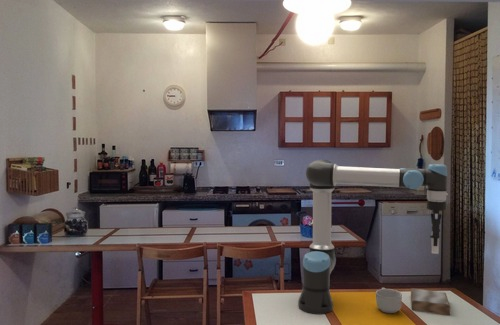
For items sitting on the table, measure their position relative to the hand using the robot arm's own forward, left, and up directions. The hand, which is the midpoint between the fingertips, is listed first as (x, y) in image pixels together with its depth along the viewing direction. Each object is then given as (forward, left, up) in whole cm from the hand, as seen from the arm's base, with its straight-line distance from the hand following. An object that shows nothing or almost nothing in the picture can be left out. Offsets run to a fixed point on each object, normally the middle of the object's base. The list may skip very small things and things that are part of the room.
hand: (434, 249), depth 176 cm
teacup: (-18, -3, -28) cm, 33 cm away
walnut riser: (-1, +8, -27) cm, 29 cm away
